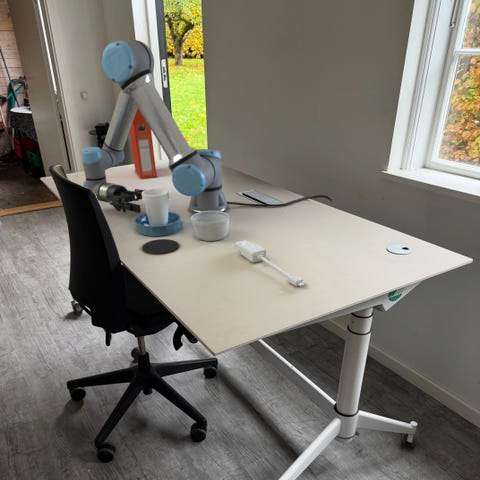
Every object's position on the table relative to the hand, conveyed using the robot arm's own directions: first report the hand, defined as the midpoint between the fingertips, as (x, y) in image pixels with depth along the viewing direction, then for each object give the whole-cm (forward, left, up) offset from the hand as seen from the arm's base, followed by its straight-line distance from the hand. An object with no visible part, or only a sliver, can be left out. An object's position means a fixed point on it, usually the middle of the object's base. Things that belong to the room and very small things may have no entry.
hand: (153, 204), depth 167 cm
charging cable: (-37, +37, -9) cm, 53 cm away
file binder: (+13, -78, -9) cm, 80 cm away
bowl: (-1, +1, -9) cm, 9 cm away
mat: (-3, +18, -9) cm, 21 cm away
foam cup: (-1, +1, -9) cm, 9 cm away
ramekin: (-20, +10, -9) cm, 24 cm away
